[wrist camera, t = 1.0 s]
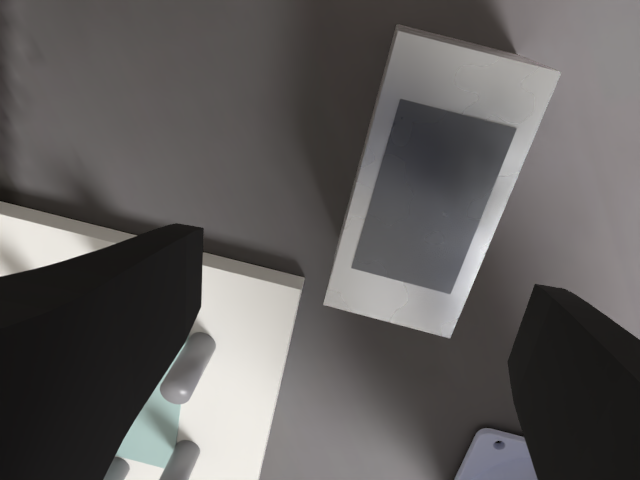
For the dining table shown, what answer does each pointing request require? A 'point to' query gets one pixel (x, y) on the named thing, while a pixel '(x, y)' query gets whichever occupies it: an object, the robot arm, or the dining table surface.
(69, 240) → the dock
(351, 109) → the dining table surface
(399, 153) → the block
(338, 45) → the dining table surface
